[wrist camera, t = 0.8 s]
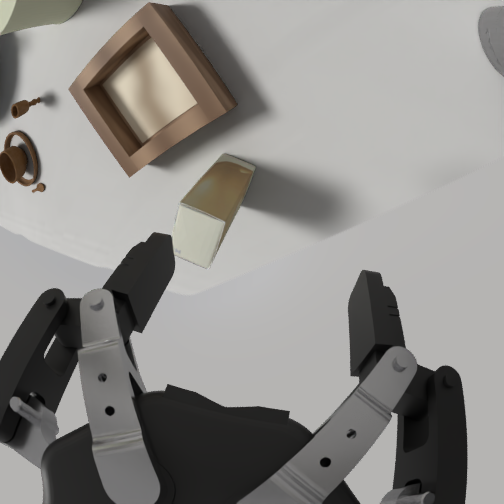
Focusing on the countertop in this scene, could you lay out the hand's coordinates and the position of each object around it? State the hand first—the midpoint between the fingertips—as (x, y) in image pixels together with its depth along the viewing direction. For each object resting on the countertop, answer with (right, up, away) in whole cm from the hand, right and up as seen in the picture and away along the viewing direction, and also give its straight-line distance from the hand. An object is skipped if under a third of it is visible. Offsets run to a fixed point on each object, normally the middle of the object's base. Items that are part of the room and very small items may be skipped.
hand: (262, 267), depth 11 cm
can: (-26, +36, +6) cm, 44 cm away
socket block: (-12, +20, +15) cm, 28 cm away
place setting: (-41, +20, +25) cm, 52 cm away
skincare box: (-3, +10, +22) cm, 24 cm away
